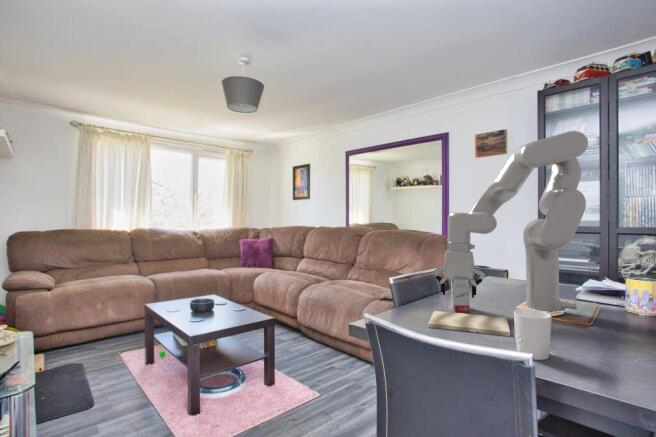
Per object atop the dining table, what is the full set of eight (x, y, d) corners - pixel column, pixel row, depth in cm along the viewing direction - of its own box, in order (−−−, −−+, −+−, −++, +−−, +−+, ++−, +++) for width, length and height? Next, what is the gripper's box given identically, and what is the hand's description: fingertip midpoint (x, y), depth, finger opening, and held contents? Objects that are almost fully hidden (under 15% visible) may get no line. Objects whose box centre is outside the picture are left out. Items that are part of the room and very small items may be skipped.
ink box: (470, 313, 117) (469, 279, 117) (454, 313, 118) (454, 279, 118) (465, 306, 125) (464, 274, 125) (451, 306, 126) (450, 274, 126)
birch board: (506, 321, 108) (506, 317, 108) (510, 336, 96) (510, 331, 96) (433, 314, 117) (433, 310, 117) (428, 327, 104) (428, 323, 104)
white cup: (508, 348, 87) (507, 309, 87) (539, 347, 87) (539, 308, 87) (524, 361, 80) (524, 318, 79) (559, 361, 79) (559, 318, 79)
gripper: (485, 247, 121) (484, 295, 122) (434, 245, 128) (434, 291, 129) (485, 249, 115) (485, 300, 115) (432, 247, 121) (431, 295, 122)
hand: (458, 295), depth 122 cm, fingers open, 9 cm apart
